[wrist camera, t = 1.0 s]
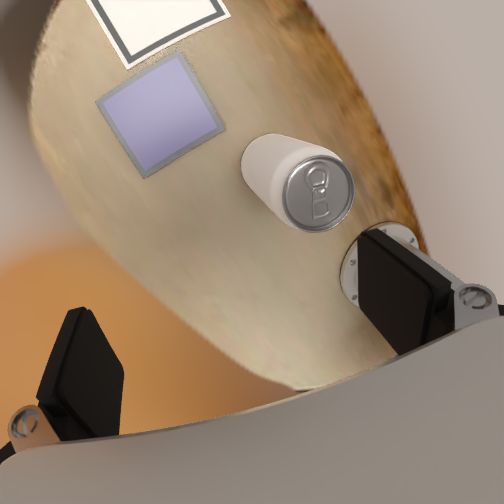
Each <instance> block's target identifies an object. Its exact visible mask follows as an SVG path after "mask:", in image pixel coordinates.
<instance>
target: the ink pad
mask: <svg viewBox="0 0 504 504" xmlns="http://www.w3.org/2000/svg"><path fill="white" fill-rule="evenodd" d="M95 103H96V104H97V106H98V108H99V109H100V111H101V113H102V114H103V116H104V118H105V119H106V121H107V122H108V124H109V126H110V127H111V129H112V131H113V132H114V134H115V135H116V137H117V139H118V140H119V142H120V143H121V145H122V146H123V148H124V150H125V151H126V153H127V154H128V156H129V157H130V159H131V161H132V162H133V164H134V165H135V167H136V168H137V170H138V171H139V173H140V174H141V176H142V178H143V179H145V178H146V177H148V176H150V175H151V174H153V173H154V172H156V171H157V170H159V169H160V168H162V167H164V166H165V165H167V164H168V163H170V162H171V161H173V160H175V159H176V158H178V157H180V156H181V155H183V154H185V153H186V152H188V151H190V150H191V149H193V148H195V147H196V146H198V145H200V144H201V143H203V142H205V141H207V140H208V139H210V138H212V137H214V136H215V135H217V134H219V133H221V132H222V131H224V130H226V128H225V126H224V124H223V123H222V121H221V119H220V117H219V115H218V114H217V112H216V110H215V108H214V107H213V105H212V103H211V101H210V100H209V98H208V96H207V94H206V93H205V91H204V89H203V88H202V86H201V84H200V82H199V81H198V79H197V77H196V75H195V74H194V72H193V70H192V69H191V67H190V65H189V64H188V62H187V60H186V58H185V57H184V55H183V53H182V52H181V50H178V51H176V52H174V53H172V54H170V55H169V56H167V57H165V58H163V59H161V60H160V61H158V62H156V63H154V64H153V65H151V66H149V67H147V68H146V69H144V70H142V71H141V72H139V73H138V74H136V75H134V76H133V77H131V78H130V79H128V80H126V81H125V82H123V83H122V84H120V85H119V86H117V87H116V88H114V89H113V90H111V91H110V92H108V93H107V94H105V95H104V96H102V97H101V98H100V99H98V100H97V101H95Z"/></svg>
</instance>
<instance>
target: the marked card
mask: <svg viewBox="0 0 504 504" xmlns="http://www.w3.org/2000/svg"><path fill="white" fill-rule="evenodd" d="M86 1H87V3H88V5H89V6H90V8H91V10H92V11H93V13H94V15H95V17H96V18H97V20H98V22H99V23H100V25H101V27H102V28H103V30H104V32H105V34H106V35H107V37H108V39H109V40H110V42H111V44H112V45H113V47H114V49H115V50H116V52H117V54H118V55H119V57H120V59H121V60H122V62H123V64H124V65H125V67H126V69H127V70H129V69H131V68H132V67H134V66H135V65H137V64H139V63H140V62H142V61H144V60H145V59H147V58H149V57H151V56H152V55H154V54H156V53H158V52H159V51H161V50H163V49H165V48H167V47H168V46H170V45H172V44H174V43H176V42H178V41H180V40H182V39H184V38H186V37H188V36H190V35H192V34H194V33H196V32H198V31H200V30H202V29H204V28H207V27H209V26H211V25H213V24H215V23H218V22H220V21H222V20H225V19H227V18H229V17H231V15H230V14H229V12H228V10H227V9H226V7H225V5H224V4H223V2H222V1H221V0H86Z"/></svg>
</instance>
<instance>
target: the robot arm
mask: <svg viewBox="0 0 504 504" xmlns="http://www.w3.org/2000/svg"><path fill="white" fill-rule="evenodd" d="M340 280H341V287H342V290H343V292H344V294H345V296H346V297H347V298H348V299H349V301H350V302H351V303H353V304H354V305H356V306H358V307H360V309H361V310H362V311H363V313H364V314H365V315H366V316H367V317H368V319H369V320H370V321H371V322H372V323H373V325H374V326H375V327H376V328H377V329H378V331H379V332H380V333H381V334H382V335H383V337H384V338H385V339H386V340H387V342H388V343H389V344H390V345H391V346H392V348H393V349H394V350H395V351H396V353H397V354H398V355H399V356H398V357H396V358H394V359H391V360H389V361H387V362H384V363H382V364H380V365H377V366H375V367H373V368H370V369H368V370H365V371H363V372H360V373H358V374H355V375H353V376H350V377H347V378H345V379H342V380H339V381H337V382H334V383H331V384H328V385H325V386H323V387H320V388H317V389H314V390H311V391H308V392H305V393H302V394H299V395H296V396H293V397H290V398H287V399H283V400H280V401H277V402H273V403H270V404H267V405H263V406H259V407H256V408H252V409H249V410H245V411H241V412H237V413H233V414H229V415H225V416H221V417H217V418H212V419H208V420H203V421H199V422H194V423H189V424H184V425H179V426H175V427H169V428H163V429H158V430H151V431H145V432H138V433H131V434H124V435H119V427H120V413H121V401H122V391H123V381H124V370H123V367H122V365H121V363H120V361H119V360H118V358H117V356H116V355H115V353H114V351H113V349H112V348H111V346H110V344H109V342H108V341H107V339H106V337H105V335H104V333H103V331H102V330H101V328H100V326H99V324H98V322H97V320H96V318H95V316H94V315H93V313H92V311H91V310H89V309H88V310H87V309H86V308H85V307H79V308H75V309H71V310H69V311H68V312H67V315H66V317H65V319H64V322H63V324H62V327H61V329H60V331H59V334H58V336H57V339H56V342H55V344H54V347H53V349H52V352H51V354H50V357H49V360H48V363H47V365H46V368H45V371H44V374H43V377H42V380H41V383H40V386H39V389H38V392H37V395H36V398H37V399H38V400H39V403H38V406H35V405H27V406H24V407H22V408H20V409H19V410H17V411H16V412H15V413H14V415H13V416H12V417H11V419H10V421H9V424H8V435H9V438H10V440H11V441H10V442H8V443H7V444H6V445H5V446H4V447H3V448H2V449H0V504H504V305H498V304H497V300H496V297H495V295H494V293H493V292H492V291H491V290H489V289H488V288H486V287H484V286H482V285H479V284H465V283H464V282H463V281H461V280H460V279H459V278H457V277H456V276H455V275H453V274H452V273H451V272H449V271H448V270H446V269H445V268H444V267H443V266H441V265H440V264H438V263H437V262H436V261H434V260H433V259H431V258H430V257H429V256H427V255H426V254H424V253H423V252H422V251H420V250H419V246H418V242H417V239H416V237H415V235H414V234H413V232H412V231H411V230H410V229H409V228H407V227H405V226H404V225H402V224H399V223H396V222H385V223H381V224H378V225H375V226H373V227H372V228H370V229H368V230H367V231H364V232H362V233H361V236H360V237H358V239H357V240H356V241H355V242H354V243H353V245H352V246H351V248H350V249H349V251H348V252H347V255H346V257H345V259H344V261H343V265H342V268H341V275H340Z"/></svg>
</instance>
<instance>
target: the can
mask: <svg viewBox="0 0 504 504" xmlns="http://www.w3.org/2000/svg"><path fill="white" fill-rule="evenodd" d="M241 171H242V175H243V178H244V180H245V182H246V183H247V185H248V186H249V187H250V188H251V189H252V190H253V191H254V192H255V194H256V195H257V196H258V197H259V198H260V199H261V200H262V201H263V202H264V203H265V204H266V205H267V206H268V207H269V208H270V209H271V210H272V212H273V213H274V214H275V215H276V216H277V217H278V218H279V219H280V220H282V221H283V222H284V223H286V224H287V225H289V226H291V227H293V228H296V229H300V230H303V231H306V232H310V233H319V232H324V231H327V230H330V229H332V228H334V227H335V226H337V225H338V224H339V223H341V222H342V221H343V220H344V218H345V217H346V216H347V215H348V213H349V211H350V210H351V207H352V205H353V202H354V198H355V182H354V178H353V176H352V173H351V171H350V170H349V168H348V167H347V166H346V165H345V164H344V163H343V162H342V160H341V159H340V158H339V157H338V156H337V155H336V154H335V153H333V152H331V151H330V150H328V149H326V148H323V147H320V146H318V145H315V144H311V143H308V142H305V141H302V140H298V139H295V138H292V137H288V136H284V135H280V134H266V135H263V136H260V137H258V138H256V139H255V140H253V141H252V142H251V143H250V144H249V145H248V146H247V148H246V149H245V151H244V153H243V156H242V160H241Z"/></svg>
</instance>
